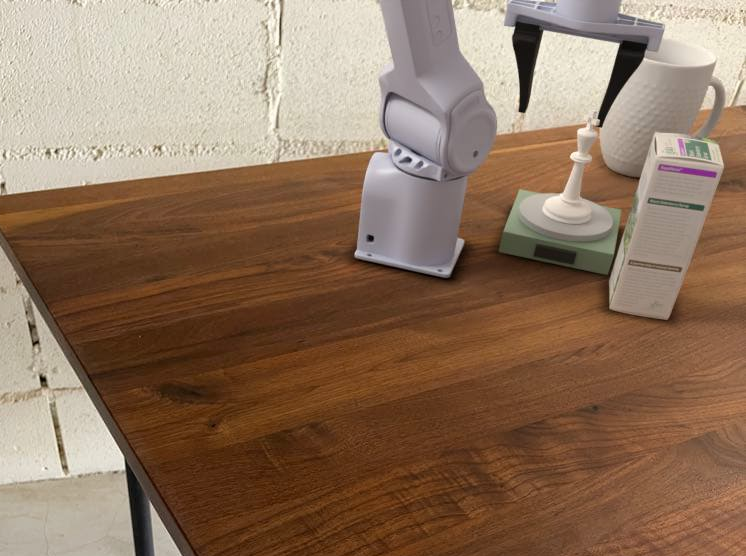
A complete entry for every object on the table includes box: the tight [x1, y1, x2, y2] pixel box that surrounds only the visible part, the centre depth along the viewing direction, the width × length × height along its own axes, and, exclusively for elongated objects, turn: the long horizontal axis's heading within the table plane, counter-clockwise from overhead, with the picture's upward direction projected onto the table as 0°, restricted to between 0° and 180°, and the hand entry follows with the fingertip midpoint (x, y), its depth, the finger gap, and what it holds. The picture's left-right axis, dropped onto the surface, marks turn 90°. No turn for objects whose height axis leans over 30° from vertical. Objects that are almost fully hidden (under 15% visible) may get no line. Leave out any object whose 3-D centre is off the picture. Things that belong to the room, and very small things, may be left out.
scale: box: [498, 188, 623, 276], centre depth 91 cm, size 11×11×3 cm
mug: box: [598, 36, 726, 179], centre depth 104 cm, size 15×11×13 cm
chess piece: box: [542, 109, 600, 224], centre depth 87 cm, size 5×5×10 cm
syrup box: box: [608, 132, 725, 321], centre depth 79 cm, size 6×6×14 cm
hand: (560, 116), depth 88 cm, fingers open, 7 cm apart
